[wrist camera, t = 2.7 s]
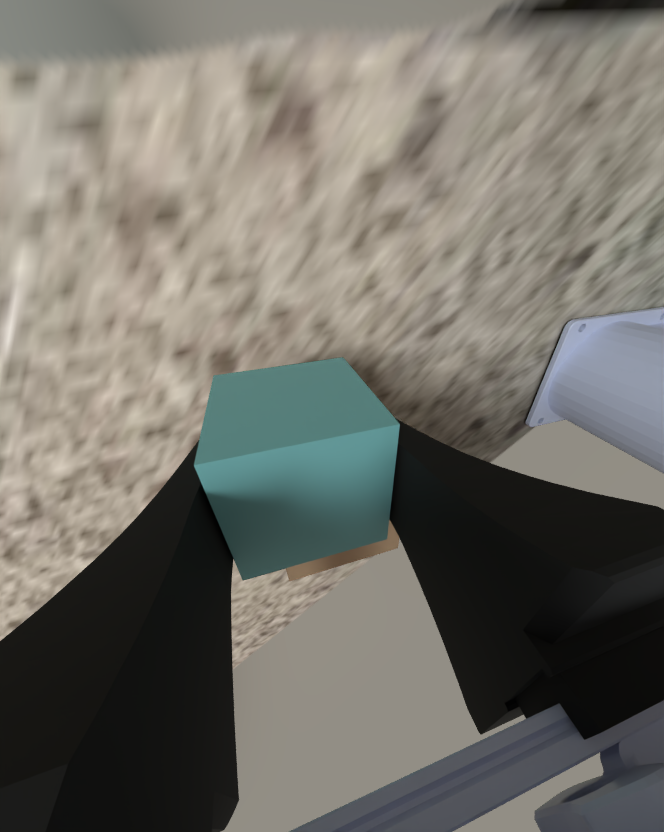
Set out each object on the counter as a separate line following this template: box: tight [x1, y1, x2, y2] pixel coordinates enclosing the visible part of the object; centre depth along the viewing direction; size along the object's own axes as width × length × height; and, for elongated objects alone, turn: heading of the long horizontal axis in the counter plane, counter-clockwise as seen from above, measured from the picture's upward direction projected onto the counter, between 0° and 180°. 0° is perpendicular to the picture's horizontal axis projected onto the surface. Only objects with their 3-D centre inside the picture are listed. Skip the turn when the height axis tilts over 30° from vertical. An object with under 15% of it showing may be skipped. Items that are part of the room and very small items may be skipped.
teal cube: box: [194, 357, 400, 580], centre depth 9 cm, size 4×4×4 cm
